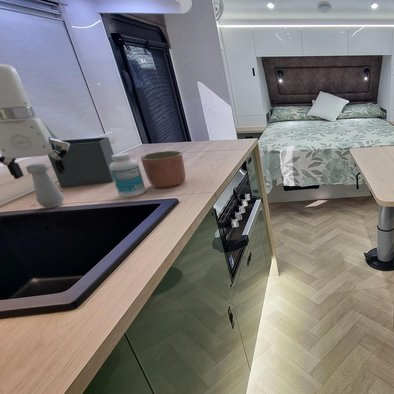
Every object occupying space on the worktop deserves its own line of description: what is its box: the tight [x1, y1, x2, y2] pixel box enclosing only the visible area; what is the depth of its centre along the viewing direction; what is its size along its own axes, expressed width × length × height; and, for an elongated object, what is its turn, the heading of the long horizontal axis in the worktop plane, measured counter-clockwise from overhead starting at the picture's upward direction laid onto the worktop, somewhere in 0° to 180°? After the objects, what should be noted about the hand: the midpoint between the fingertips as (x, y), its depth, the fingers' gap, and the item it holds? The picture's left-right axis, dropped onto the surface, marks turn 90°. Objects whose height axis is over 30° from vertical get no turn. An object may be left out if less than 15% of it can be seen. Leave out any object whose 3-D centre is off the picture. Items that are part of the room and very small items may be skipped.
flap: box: [40, 119, 59, 140], centre depth 100 cm, size 7×11×1 cm
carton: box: [47, 136, 114, 189], centre depth 107 cm, size 15×11×15 cm
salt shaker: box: [26, 163, 65, 209], centre depth 86 cm, size 6×6×13 cm
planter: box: [140, 150, 186, 189], centre depth 104 cm, size 12×12×11 cm
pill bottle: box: [109, 152, 147, 198], centre depth 94 cm, size 8×7×14 cm
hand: (41, 174), depth 84 cm, fingers open, 9 cm apart
